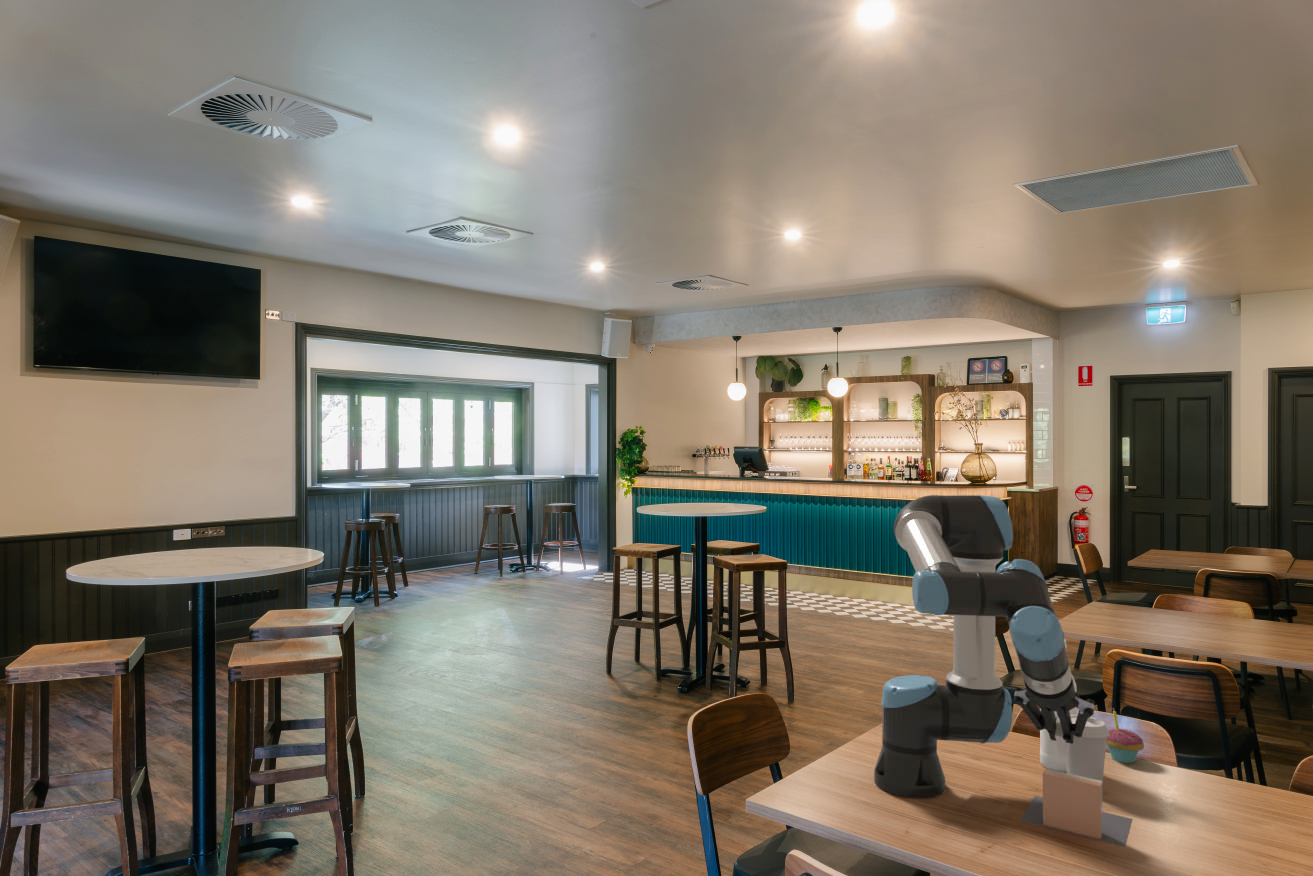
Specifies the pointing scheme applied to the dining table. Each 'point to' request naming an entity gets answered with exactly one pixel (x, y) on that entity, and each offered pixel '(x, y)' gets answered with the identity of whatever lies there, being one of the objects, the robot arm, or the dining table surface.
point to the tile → (1073, 803)
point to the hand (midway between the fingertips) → (1064, 747)
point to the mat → (1112, 833)
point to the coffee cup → (1088, 750)
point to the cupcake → (1123, 743)
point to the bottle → (1053, 745)
